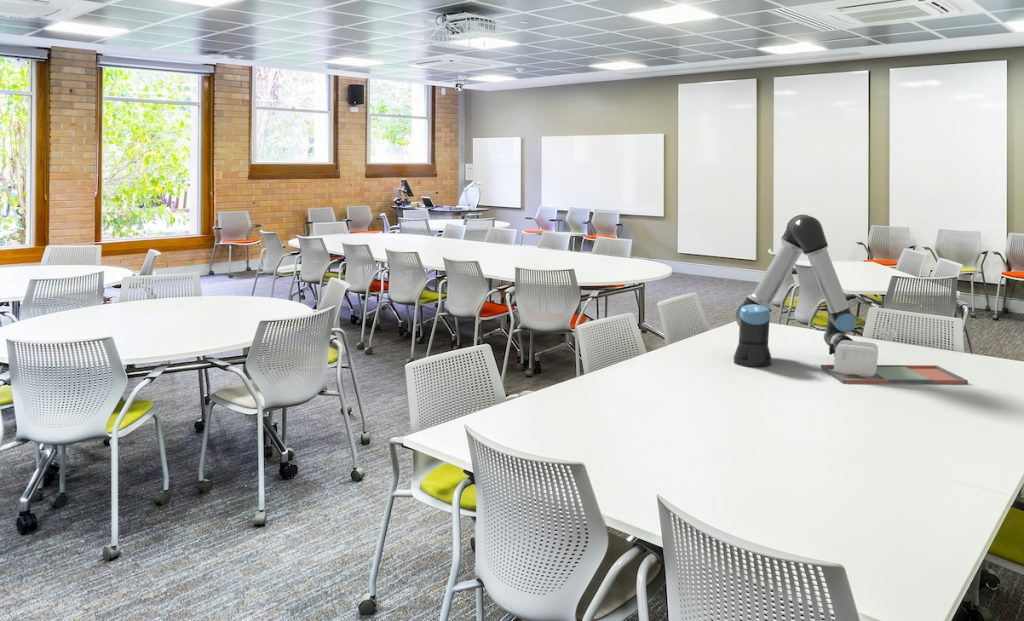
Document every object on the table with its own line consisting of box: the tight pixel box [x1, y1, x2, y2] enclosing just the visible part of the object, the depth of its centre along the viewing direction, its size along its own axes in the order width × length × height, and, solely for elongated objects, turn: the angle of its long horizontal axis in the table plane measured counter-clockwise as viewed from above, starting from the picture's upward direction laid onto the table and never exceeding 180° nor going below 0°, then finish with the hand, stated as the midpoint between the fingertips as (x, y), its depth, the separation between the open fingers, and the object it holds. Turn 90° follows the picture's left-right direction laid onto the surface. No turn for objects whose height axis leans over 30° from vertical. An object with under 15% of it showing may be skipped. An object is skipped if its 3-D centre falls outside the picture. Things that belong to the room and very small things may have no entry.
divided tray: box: [820, 364, 969, 385], centre depth 306 cm, size 46×23×1 cm, turn 89°
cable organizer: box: [833, 340, 879, 378], centre depth 305 cm, size 15×11×12 cm
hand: (859, 356), depth 301 cm, fingers closed on cable organizer, 11 cm apart
